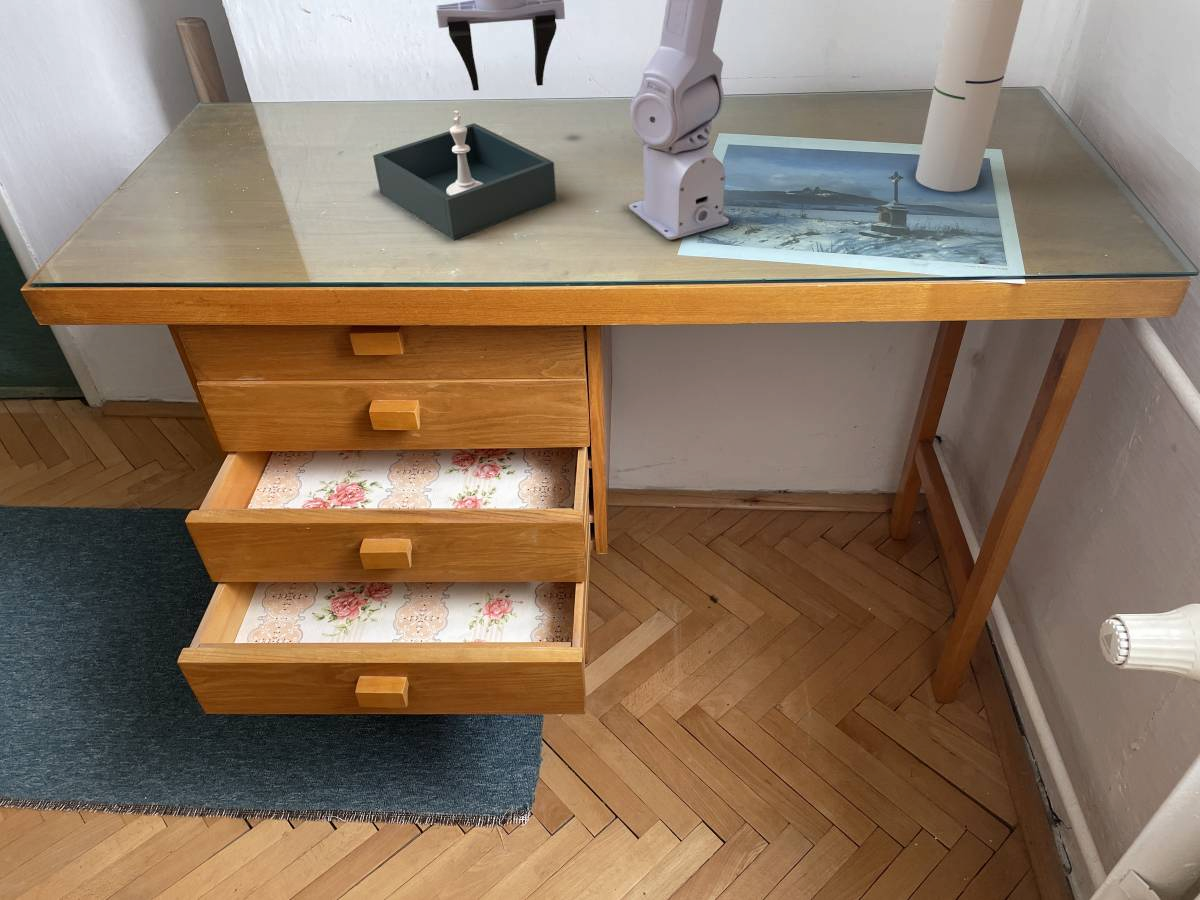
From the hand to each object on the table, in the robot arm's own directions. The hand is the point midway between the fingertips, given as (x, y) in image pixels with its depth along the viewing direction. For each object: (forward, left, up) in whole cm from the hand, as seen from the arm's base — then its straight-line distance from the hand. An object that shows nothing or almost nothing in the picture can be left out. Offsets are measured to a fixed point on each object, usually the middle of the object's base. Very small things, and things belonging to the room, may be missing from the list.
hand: (507, 85), depth 110 cm
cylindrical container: (-31, -43, -10) cm, 54 cm away
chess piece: (-5, +9, -10) cm, 14 cm away
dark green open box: (-5, +9, -10) cm, 14 cm away
